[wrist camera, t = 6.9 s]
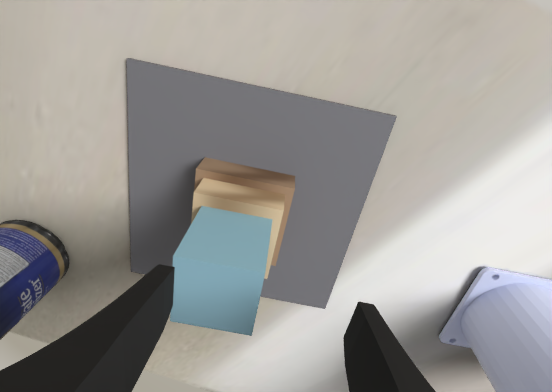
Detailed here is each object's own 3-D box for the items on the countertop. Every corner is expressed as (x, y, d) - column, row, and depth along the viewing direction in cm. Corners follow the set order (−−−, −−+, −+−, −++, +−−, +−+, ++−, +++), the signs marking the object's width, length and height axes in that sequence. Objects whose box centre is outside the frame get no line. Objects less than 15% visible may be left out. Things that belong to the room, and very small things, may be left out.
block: (272, 219, 17) (265, 272, 13) (261, 273, 19) (251, 335, 15) (201, 205, 17) (173, 256, 13) (196, 261, 19) (170, 321, 15)
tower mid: (285, 194, 19) (283, 210, 17) (269, 258, 21) (267, 279, 19) (203, 177, 19) (193, 192, 17) (197, 244, 21) (187, 263, 19)
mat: (395, 115, 19) (396, 116, 18) (324, 306, 26) (325, 308, 26) (129, 58, 18) (126, 58, 18) (132, 269, 25) (131, 271, 25)
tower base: (295, 175, 20) (294, 188, 19) (277, 248, 23) (275, 265, 21) (204, 157, 20) (196, 168, 19) (197, 232, 23) (189, 249, 21)
